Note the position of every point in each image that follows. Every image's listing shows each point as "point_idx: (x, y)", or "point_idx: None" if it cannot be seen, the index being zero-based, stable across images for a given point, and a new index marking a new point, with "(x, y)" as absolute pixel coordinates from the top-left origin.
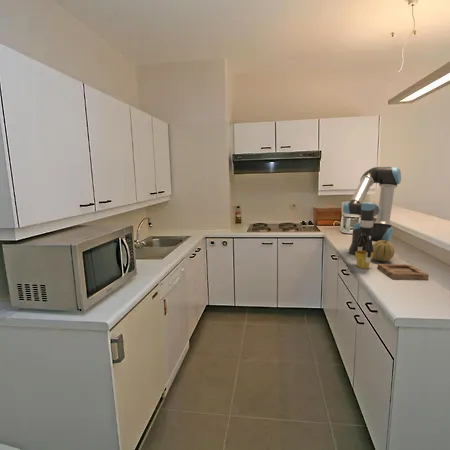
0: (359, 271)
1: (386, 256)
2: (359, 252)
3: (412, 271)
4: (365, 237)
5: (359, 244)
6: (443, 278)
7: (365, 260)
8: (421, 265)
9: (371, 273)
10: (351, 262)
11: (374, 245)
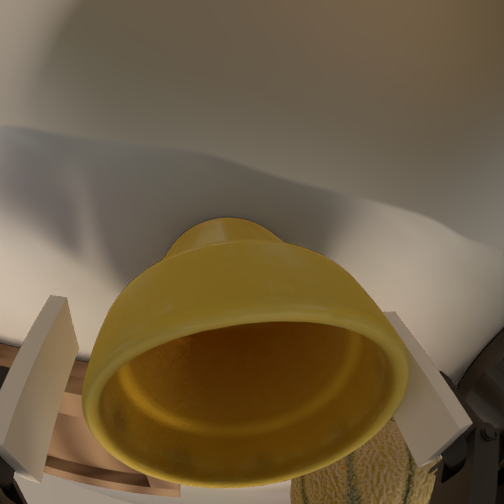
0: (56, 157)
1: (294, 483)
2: (377, 377)
3: (91, 464)
4: None
5: (466, 483)
6: (69, 480)
7: (56, 312)
8: (237, 501)
9: (15, 256)
10: (406, 229)
11: (409, 500)
